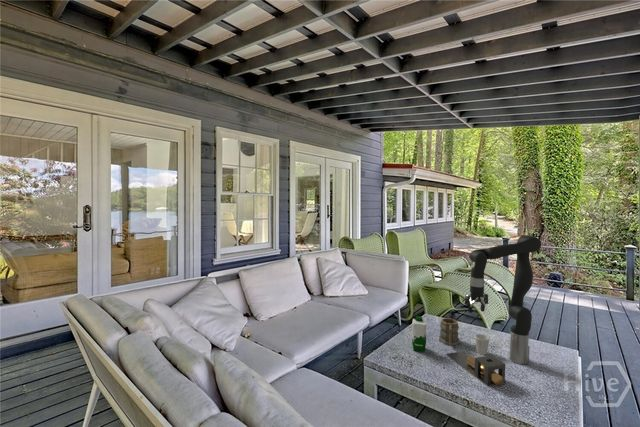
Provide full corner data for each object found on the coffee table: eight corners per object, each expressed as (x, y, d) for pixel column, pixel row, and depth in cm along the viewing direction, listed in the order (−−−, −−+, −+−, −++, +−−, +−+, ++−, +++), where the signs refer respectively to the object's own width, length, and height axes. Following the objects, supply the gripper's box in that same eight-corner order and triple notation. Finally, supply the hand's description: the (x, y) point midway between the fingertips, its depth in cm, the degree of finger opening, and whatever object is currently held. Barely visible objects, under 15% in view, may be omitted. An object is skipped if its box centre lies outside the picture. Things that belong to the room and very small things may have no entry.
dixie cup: (480, 348, 208) (481, 333, 208) (492, 354, 201) (492, 338, 200) (471, 350, 205) (471, 335, 205) (482, 356, 197) (483, 340, 197)
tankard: (439, 335, 227) (439, 314, 226) (458, 338, 222) (459, 317, 221) (438, 348, 208) (439, 325, 207) (459, 351, 204) (460, 328, 203)
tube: (466, 364, 187) (465, 356, 187) (473, 363, 188) (473, 354, 188) (495, 386, 166) (495, 377, 165) (503, 384, 167) (503, 375, 167)
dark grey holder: (445, 354, 200) (446, 338, 199) (461, 352, 203) (462, 336, 202) (487, 386, 167) (488, 367, 166) (505, 383, 170) (506, 364, 169)
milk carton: (425, 346, 211) (425, 316, 209) (426, 353, 202) (427, 321, 201) (411, 344, 213) (411, 315, 212) (411, 351, 204) (412, 320, 203)
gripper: (482, 282, 195) (481, 308, 196) (462, 283, 191) (461, 310, 192) (492, 285, 188) (491, 313, 189) (471, 287, 184) (470, 315, 185)
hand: (476, 311), depth 190 cm, fingers open, 8 cm apart
